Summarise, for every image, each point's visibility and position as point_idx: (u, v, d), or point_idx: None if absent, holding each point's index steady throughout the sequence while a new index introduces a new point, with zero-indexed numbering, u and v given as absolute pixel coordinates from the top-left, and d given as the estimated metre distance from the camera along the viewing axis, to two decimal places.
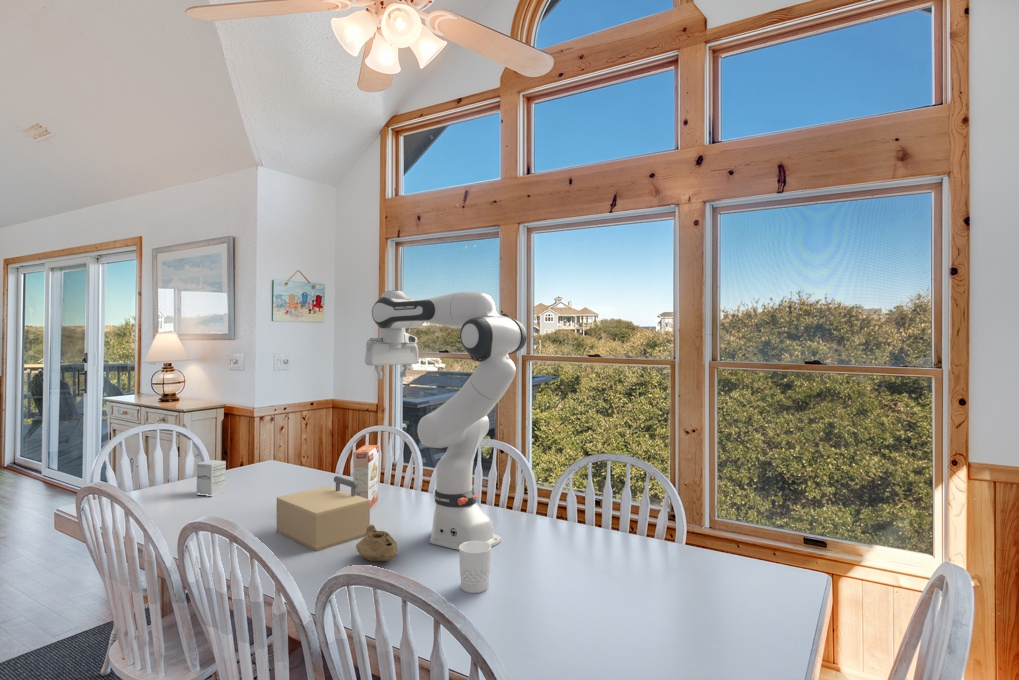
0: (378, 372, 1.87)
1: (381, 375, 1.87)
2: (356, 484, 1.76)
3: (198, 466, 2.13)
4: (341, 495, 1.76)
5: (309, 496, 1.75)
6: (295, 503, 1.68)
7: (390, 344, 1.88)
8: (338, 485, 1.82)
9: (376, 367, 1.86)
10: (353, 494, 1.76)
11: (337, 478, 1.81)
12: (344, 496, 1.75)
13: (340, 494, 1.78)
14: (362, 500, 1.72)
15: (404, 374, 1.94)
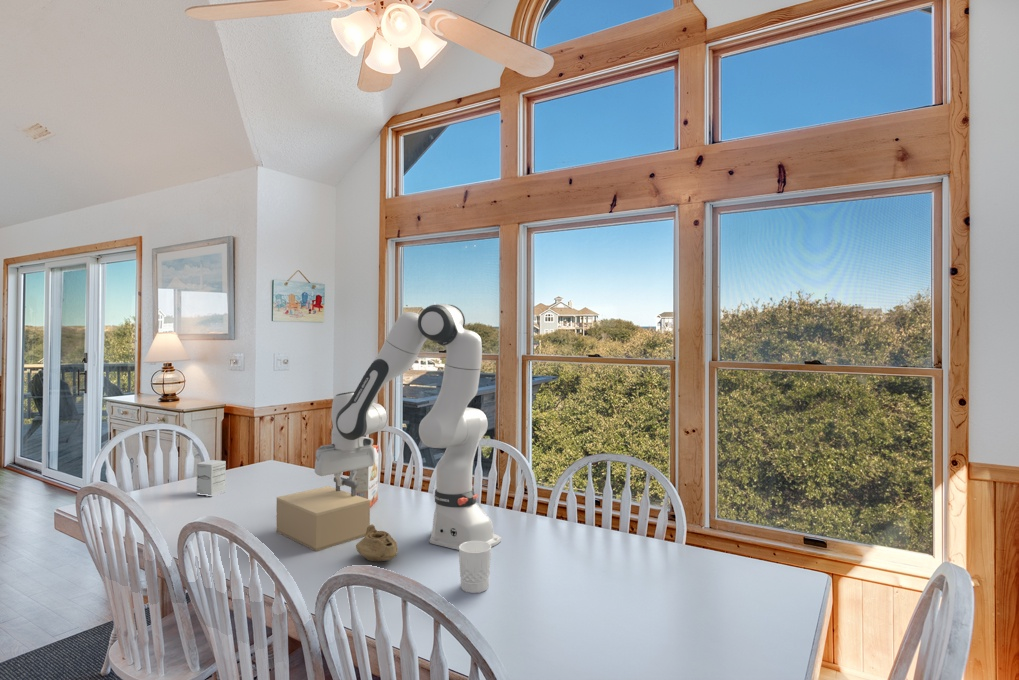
0: (338, 479, 1.77)
1: (341, 482, 1.77)
2: (356, 484, 1.76)
3: (198, 466, 2.13)
4: (341, 495, 1.76)
5: (309, 496, 1.75)
6: (295, 503, 1.68)
7: (342, 450, 1.76)
8: None
9: (335, 474, 1.76)
10: (353, 494, 1.76)
11: None
12: (344, 497, 1.75)
13: (340, 494, 1.78)
14: (362, 500, 1.72)
15: None
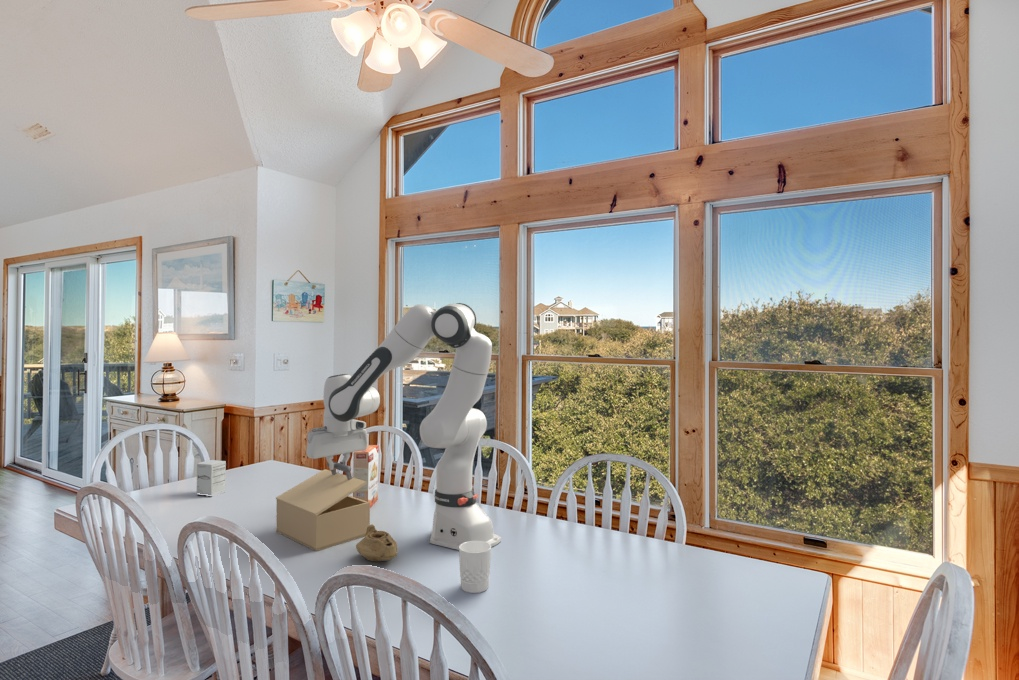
0: (329, 463, 1.75)
1: (333, 466, 1.75)
2: (349, 468, 1.74)
3: (198, 466, 2.13)
4: (338, 480, 1.76)
5: (307, 489, 1.75)
6: (294, 503, 1.67)
7: (335, 433, 1.74)
8: None
9: (327, 457, 1.74)
10: (349, 477, 1.74)
11: None
12: (341, 482, 1.74)
13: (337, 479, 1.77)
14: (359, 483, 1.71)
15: (344, 464, 1.78)
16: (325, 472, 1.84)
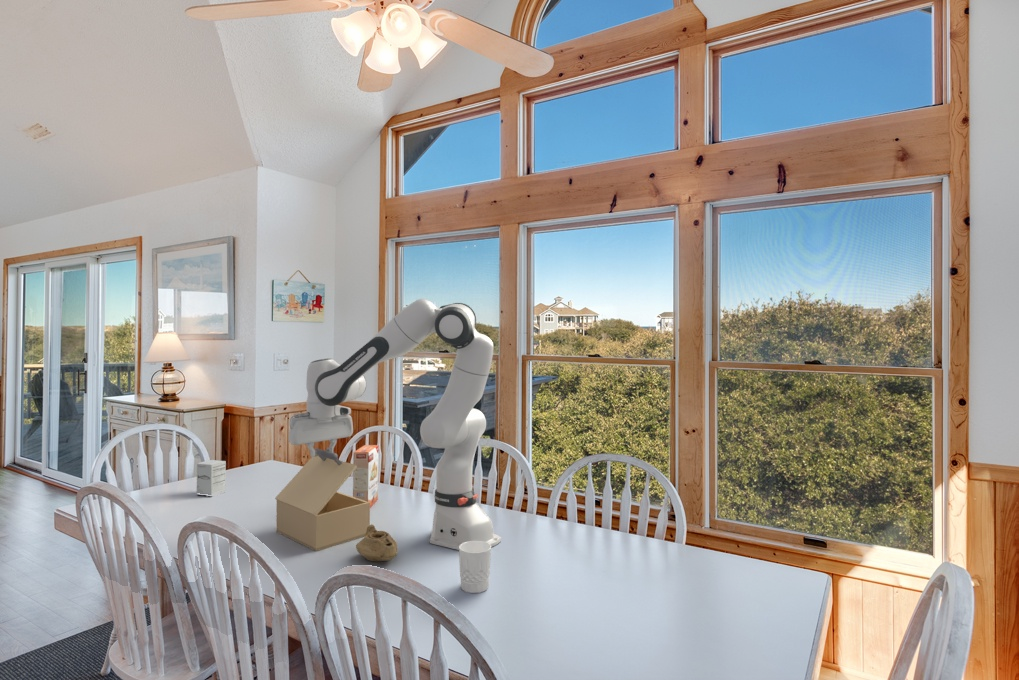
0: (310, 450, 1.70)
1: (314, 453, 1.70)
2: (335, 455, 1.70)
3: (198, 466, 2.13)
4: (329, 468, 1.73)
5: (302, 483, 1.73)
6: (293, 503, 1.67)
7: (318, 419, 1.70)
8: None
9: (308, 444, 1.69)
10: (339, 463, 1.72)
11: None
12: (333, 469, 1.72)
13: (328, 465, 1.74)
14: (349, 468, 1.68)
15: (330, 450, 1.74)
16: (315, 458, 1.81)
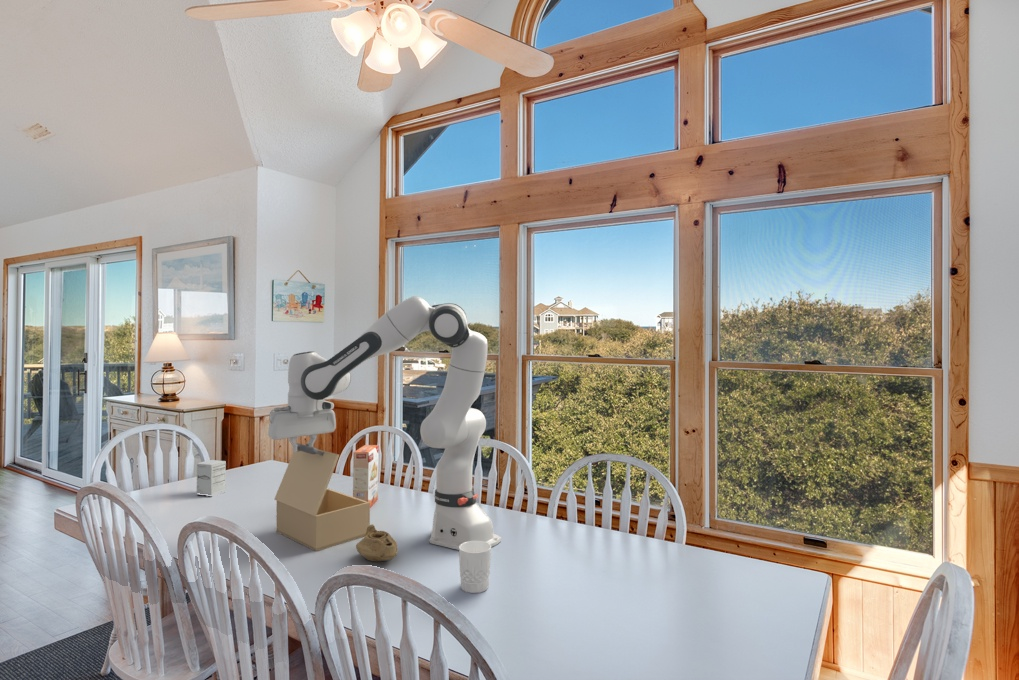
0: (293, 444, 1.66)
1: (296, 448, 1.66)
2: (314, 449, 1.65)
3: (198, 466, 2.13)
4: (314, 460, 1.69)
5: (294, 479, 1.71)
6: (291, 503, 1.67)
7: (299, 413, 1.65)
8: None
9: (290, 439, 1.65)
10: (321, 454, 1.67)
11: None
12: (317, 461, 1.68)
13: (312, 457, 1.70)
14: (332, 458, 1.64)
15: (310, 446, 1.69)
16: None
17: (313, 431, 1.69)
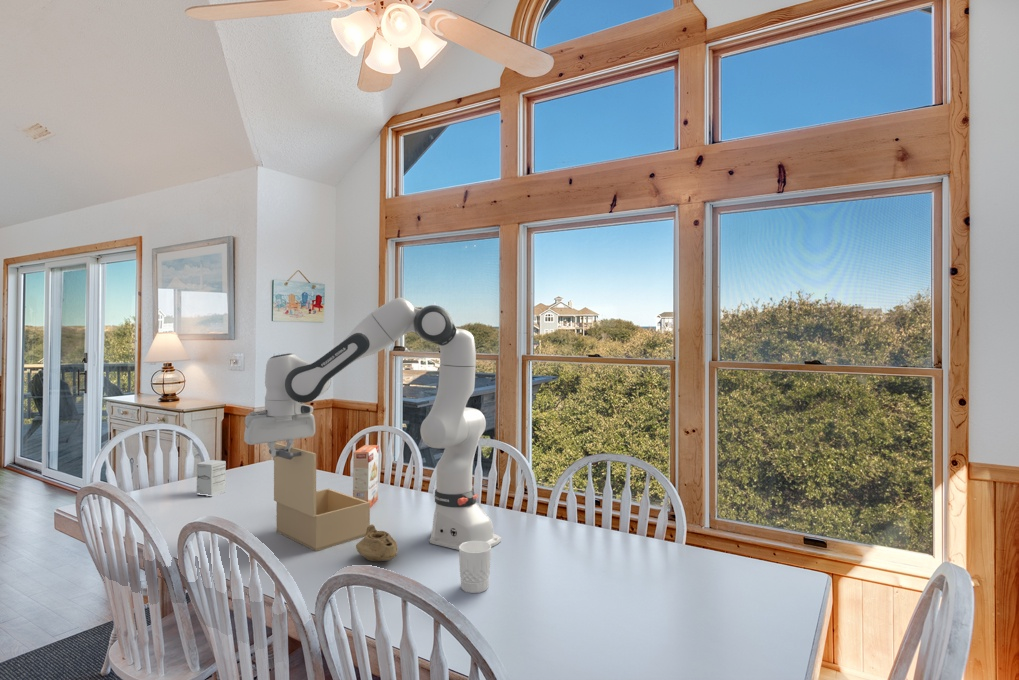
0: (271, 449, 1.61)
1: (275, 453, 1.61)
2: (289, 454, 1.59)
3: (198, 466, 2.13)
4: (294, 460, 1.65)
5: (284, 480, 1.69)
6: (290, 505, 1.67)
7: (276, 417, 1.60)
8: None
9: (269, 444, 1.60)
10: (299, 455, 1.62)
11: None
12: (298, 461, 1.63)
13: (292, 457, 1.66)
14: (311, 458, 1.59)
15: (287, 451, 1.63)
16: (278, 448, 1.72)
17: (291, 436, 1.64)
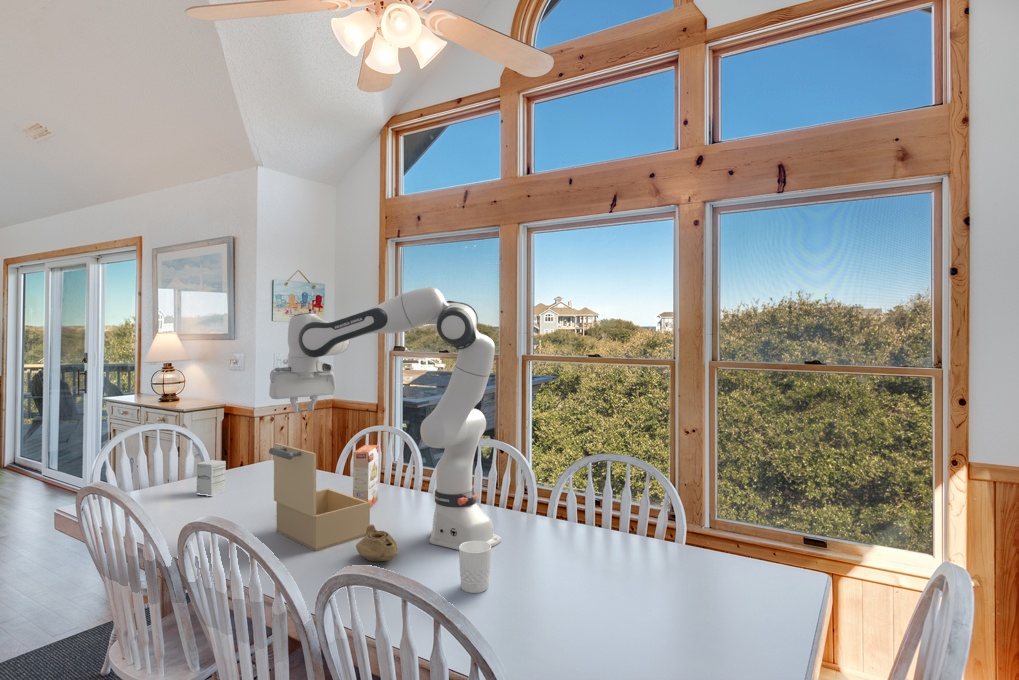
0: (294, 405, 1.67)
1: (297, 408, 1.67)
2: (289, 454, 1.59)
3: (198, 466, 2.13)
4: (294, 460, 1.65)
5: (284, 480, 1.69)
6: (290, 505, 1.67)
7: (299, 374, 1.66)
8: None
9: (291, 400, 1.66)
10: (299, 455, 1.62)
11: (273, 454, 1.65)
12: (298, 461, 1.63)
13: (292, 457, 1.65)
14: (311, 458, 1.58)
15: (311, 407, 1.70)
16: (277, 448, 1.72)
17: (314, 392, 1.70)
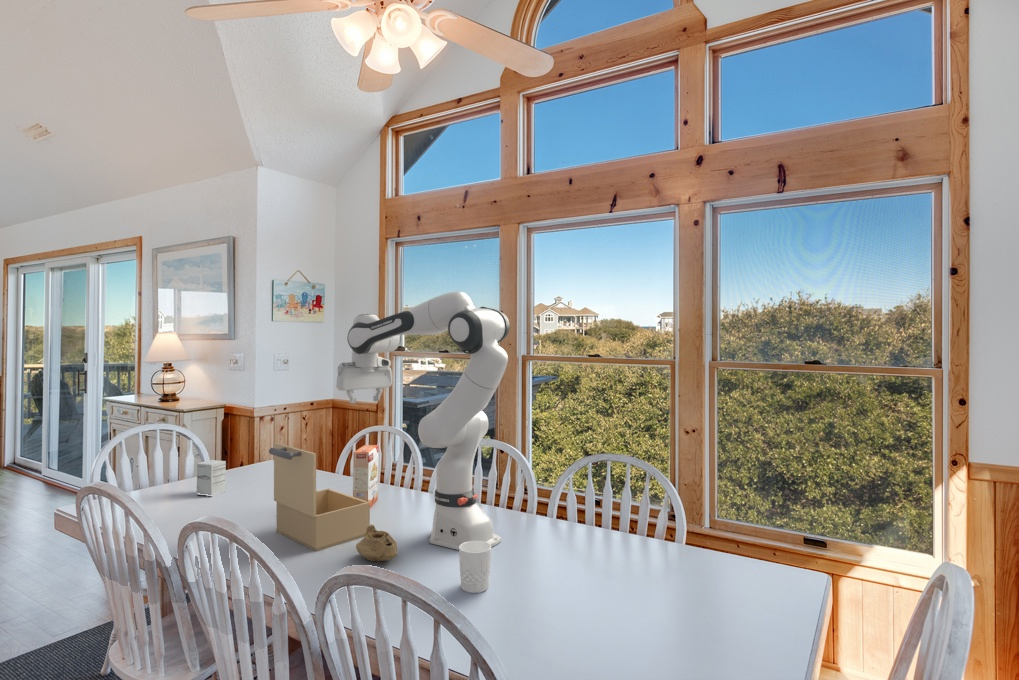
0: (350, 397, 1.85)
1: (353, 400, 1.85)
2: (289, 454, 1.59)
3: (198, 466, 2.13)
4: (294, 460, 1.65)
5: (284, 480, 1.69)
6: (290, 505, 1.67)
7: (362, 368, 1.86)
8: None
9: (348, 392, 1.84)
10: (299, 455, 1.62)
11: (273, 454, 1.65)
12: (298, 461, 1.63)
13: (292, 457, 1.65)
14: (311, 458, 1.58)
15: (377, 398, 1.92)
16: (277, 448, 1.72)
17: (374, 385, 1.90)
